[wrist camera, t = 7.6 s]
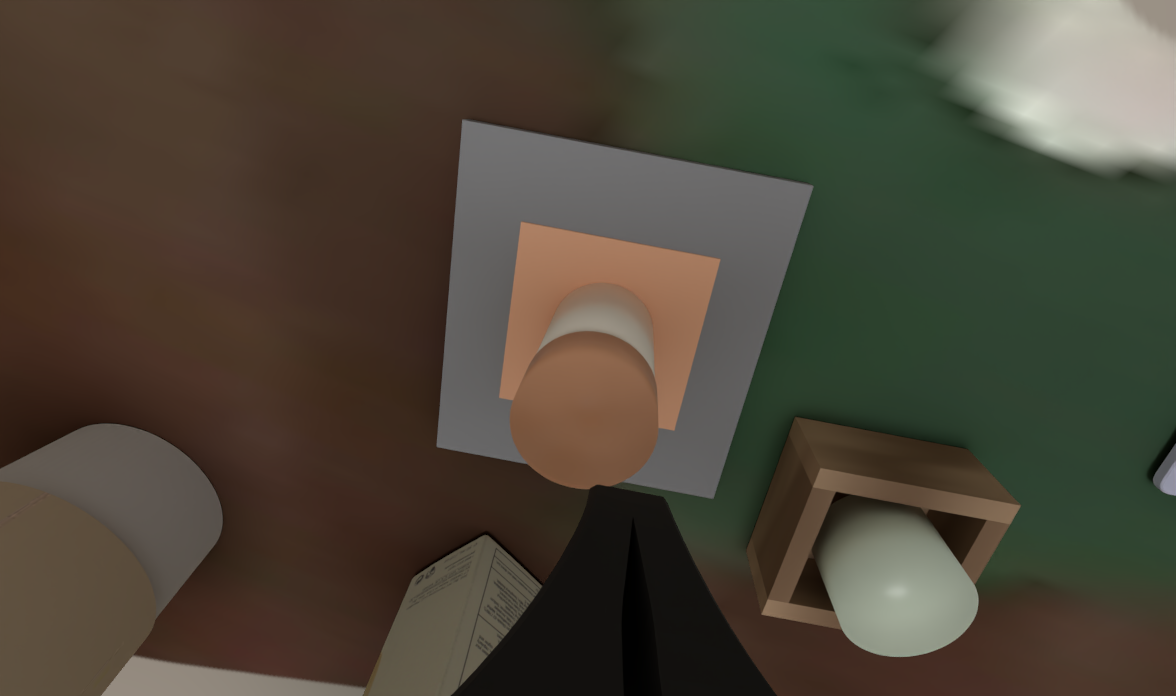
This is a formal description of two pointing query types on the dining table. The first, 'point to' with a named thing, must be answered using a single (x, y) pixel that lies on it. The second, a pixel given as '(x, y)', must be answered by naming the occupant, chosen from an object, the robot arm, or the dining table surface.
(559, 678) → the robot arm
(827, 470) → the button housing
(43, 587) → the coffee cup
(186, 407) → the dining table surface
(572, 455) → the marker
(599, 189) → the grey square plate
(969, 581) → the button
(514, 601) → the skincare box
